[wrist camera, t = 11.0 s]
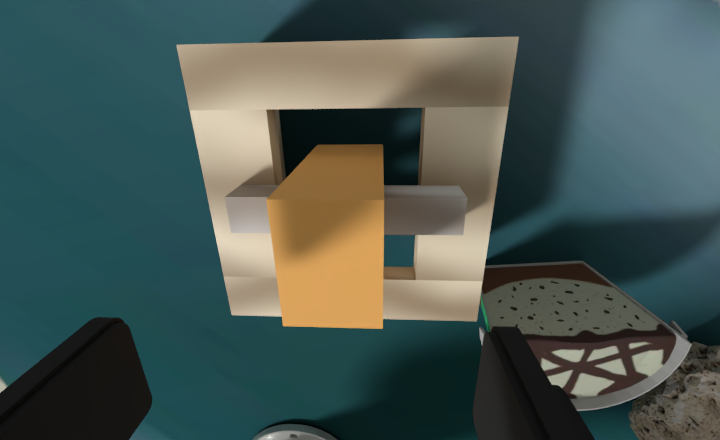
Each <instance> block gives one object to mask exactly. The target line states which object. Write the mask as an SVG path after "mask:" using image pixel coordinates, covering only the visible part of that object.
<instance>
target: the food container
mask: <svg viewBox="0 0 720 440" xmlns="http://www.w3.org/2000/svg"><path fill="white" fill-rule="evenodd" d="M480 303H481V307H482V311H483V314H484V318H485V322H486V326H487V329H488V332H491V329H492V327H494V326H508V327H518V328H519V329H520V331H521V332H522V334H523V336H524V338H525V339H526V341H527V343H528V344H529V346H530V348H531V350H532V351H533V353H534V355H535V357H536V358H537V360H538V362H539V363H540V365H541V367H542V369H543V370H544V372H545V374H546V376H547V377H548V379H549V381H550V382H551V384H552V385H559V386H560V387H561V388H563V390H564V391H565V392H566V394H567V395H568V396H569V398H570V400H571V401H572V403H573V405H574V406H575V408H576V410H577V411H584V410H595V409H601V408H607V407H610V406H614V405H618V404H621V403H624V402H626V401H629V400H632V399H634V398H636V397H638V396H640V395H642V394H644V393H646V392H648V391H650V390H651V389H653V388H654V387H656V386H657V385H659V384H660V383H661V382H663V381H664V380H665V379H666V378H668V377H669V376H670V375H671V374H672V373H673V372H674V371H675V370H676V369H677V368H678V367H679V365H680V364H681V363H682V361H683V360H684V358H685V357H686V355H687V354H688V352H689V349H690V347H691V345H692V344H691V343H690V342H689V341H688V340H687V337H688V336H687V335H686V334H685V333H684V332H683V330H682V329H681V328H680V327H679V326H678V325H677V323H676V322H675V321H671V323H670V325H668V324H666V323H665V322H664V321H662V320H661V319H660V318H658V317H657V316H656V315H654V314H653V313H652V312H650V311H649V310H648V309H646V308H645V307H644V306H642V305H641V304H640V303H638V302H637V301H636V300H634V299H633V298H632V297H630V296H629V295H628V294H626V293H625V292H624V291H622V290H621V289H620V288H618V287H617V286H616V285H614V284H613V283H612V282H610V281H609V280H608V279H606V278H605V277H604V276H602V275H601V274H600V273H599V272H597V271H596V270H595V269H593V268H592V267H591V266H589V265H588V264H587V263H585V262H584V261H564V262H544V263H524V264H504V265H485V269H484V276H483V282H482V289H481V296H480ZM479 329H480V340H481V344H483V337H484V334H485V331H484V330H483V328H482V327H480V328H479Z"/></svg>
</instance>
